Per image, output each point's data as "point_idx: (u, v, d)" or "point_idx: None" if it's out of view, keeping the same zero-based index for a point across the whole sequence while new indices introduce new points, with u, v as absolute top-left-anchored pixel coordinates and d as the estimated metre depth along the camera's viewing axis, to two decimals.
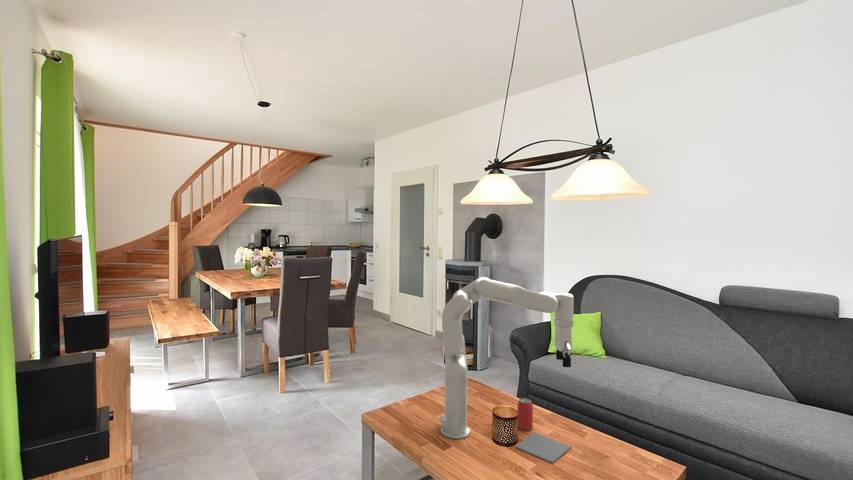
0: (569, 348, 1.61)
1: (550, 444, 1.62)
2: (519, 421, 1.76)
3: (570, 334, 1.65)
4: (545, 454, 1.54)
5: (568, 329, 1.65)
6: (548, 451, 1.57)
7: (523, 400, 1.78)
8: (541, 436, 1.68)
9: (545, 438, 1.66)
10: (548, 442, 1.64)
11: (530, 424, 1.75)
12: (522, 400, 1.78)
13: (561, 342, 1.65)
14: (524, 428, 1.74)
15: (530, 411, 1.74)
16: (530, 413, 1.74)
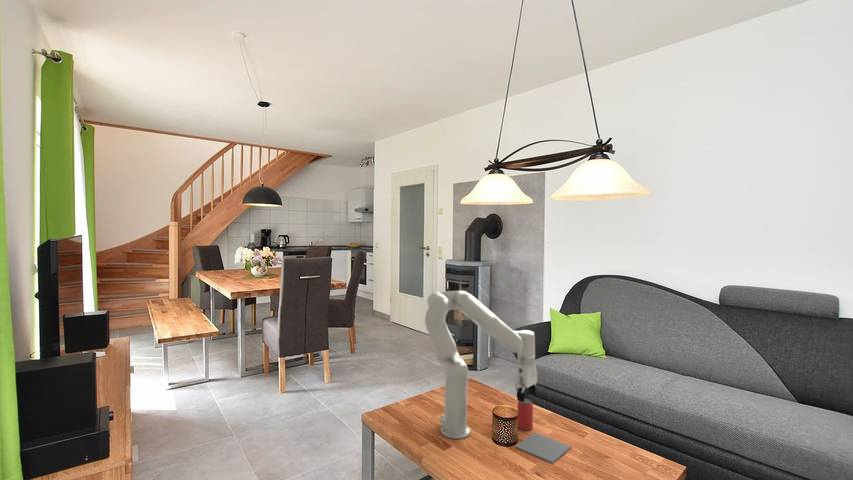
0: None
1: (550, 444, 1.62)
2: (519, 421, 1.76)
3: None
4: (545, 454, 1.54)
5: None
6: (548, 451, 1.57)
7: None
8: (541, 436, 1.68)
9: (545, 438, 1.66)
10: (548, 442, 1.64)
11: (530, 424, 1.75)
12: None
13: None
14: (524, 428, 1.74)
15: (530, 411, 1.74)
16: (530, 413, 1.74)
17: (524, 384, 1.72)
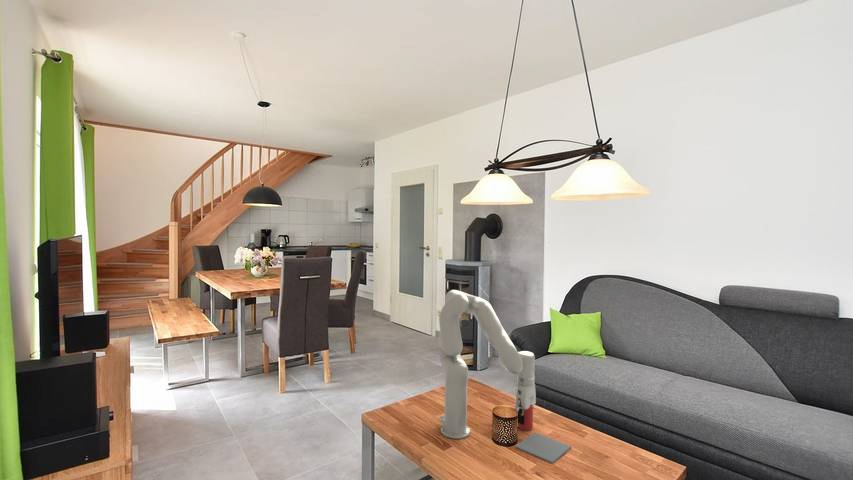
0: None
1: (550, 444, 1.62)
2: None
3: None
4: (545, 454, 1.54)
5: None
6: (548, 451, 1.57)
7: None
8: (541, 436, 1.68)
9: (545, 438, 1.66)
10: (548, 442, 1.64)
11: (530, 424, 1.75)
12: None
13: None
14: (524, 428, 1.74)
15: (530, 411, 1.74)
16: (530, 413, 1.74)
17: (523, 406, 1.72)
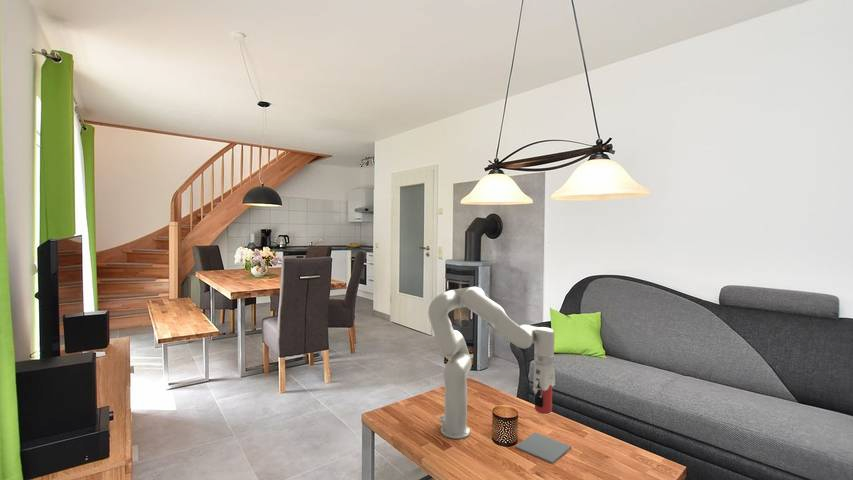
0: None
1: (550, 444, 1.62)
2: None
3: None
4: (545, 454, 1.54)
5: None
6: (548, 451, 1.57)
7: None
8: (541, 436, 1.68)
9: (545, 438, 1.66)
10: (548, 442, 1.64)
11: (549, 407, 1.58)
12: None
13: None
14: (543, 411, 1.58)
15: (549, 393, 1.58)
16: (549, 395, 1.58)
17: (542, 387, 1.56)
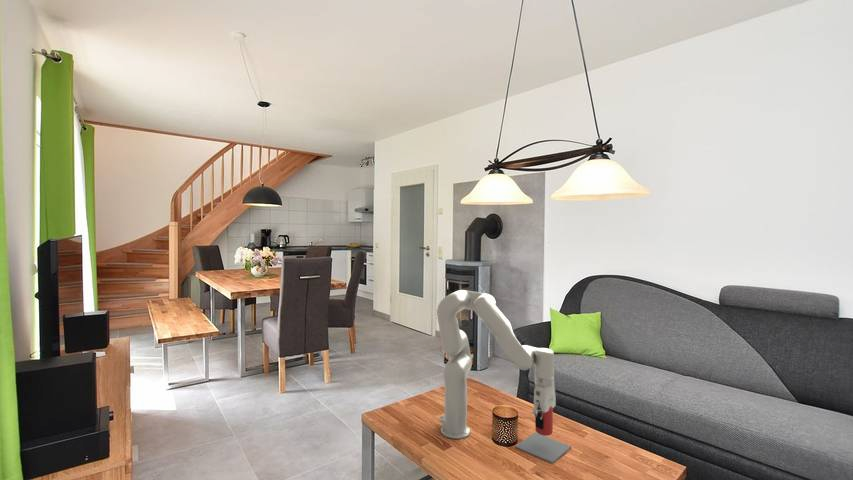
0: None
1: (550, 444, 1.62)
2: None
3: None
4: (545, 454, 1.54)
5: None
6: (548, 451, 1.57)
7: None
8: (541, 436, 1.68)
9: (545, 438, 1.66)
10: (548, 442, 1.64)
11: (550, 429, 1.58)
12: None
13: None
14: (543, 433, 1.57)
15: (550, 414, 1.57)
16: (550, 416, 1.57)
17: (542, 408, 1.55)
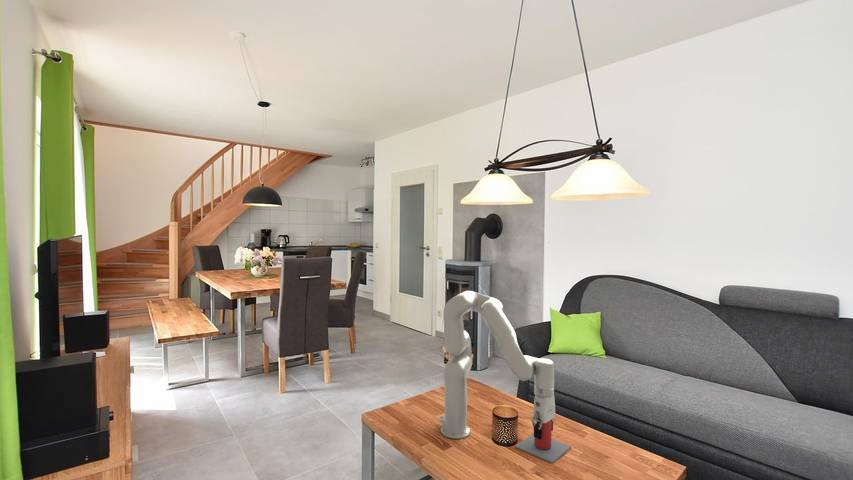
0: None
1: None
2: (536, 439, 1.59)
3: None
4: (545, 454, 1.54)
5: None
6: (548, 451, 1.57)
7: None
8: None
9: None
10: None
11: (549, 443, 1.58)
12: None
13: None
14: (542, 447, 1.57)
15: (549, 428, 1.58)
16: (548, 430, 1.58)
17: (541, 419, 1.55)
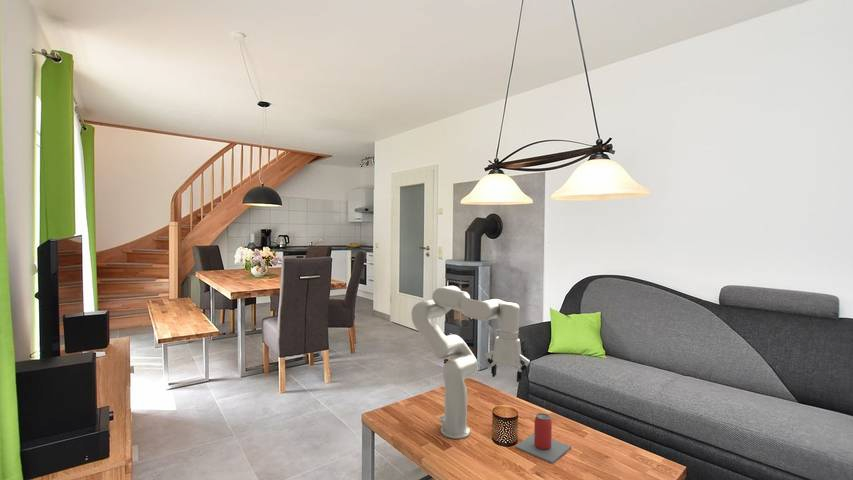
0: (528, 360, 1.52)
1: None
2: (536, 439, 1.59)
3: None
4: (545, 454, 1.54)
5: (519, 341, 1.54)
6: (548, 451, 1.57)
7: (541, 416, 1.61)
8: None
9: None
10: None
11: (549, 443, 1.58)
12: (539, 416, 1.61)
13: (518, 356, 1.52)
14: (542, 447, 1.57)
15: (549, 428, 1.58)
16: (549, 431, 1.57)
17: (493, 357, 1.56)
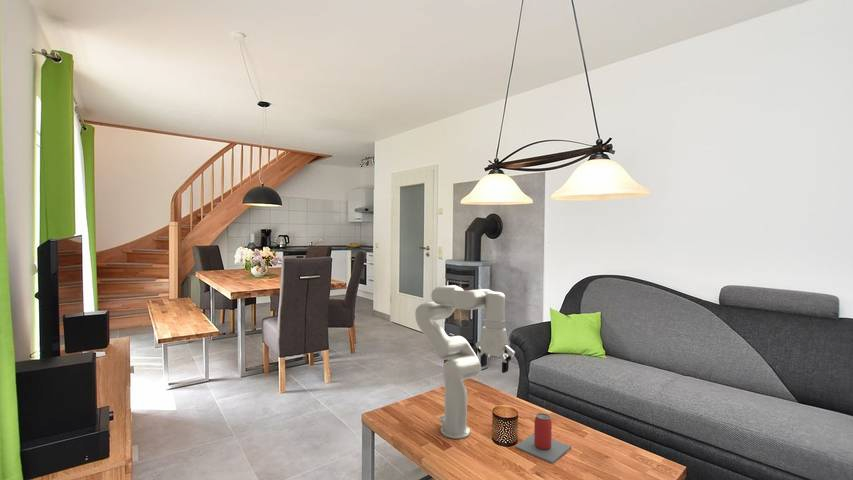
0: (513, 351, 1.48)
1: None
2: (536, 439, 1.59)
3: (506, 336, 1.52)
4: (545, 454, 1.54)
5: (505, 331, 1.51)
6: (548, 451, 1.57)
7: (541, 416, 1.61)
8: None
9: None
10: None
11: (549, 443, 1.58)
12: (539, 416, 1.61)
13: (502, 346, 1.49)
14: (542, 447, 1.57)
15: (549, 428, 1.58)
16: (549, 430, 1.58)
17: None
